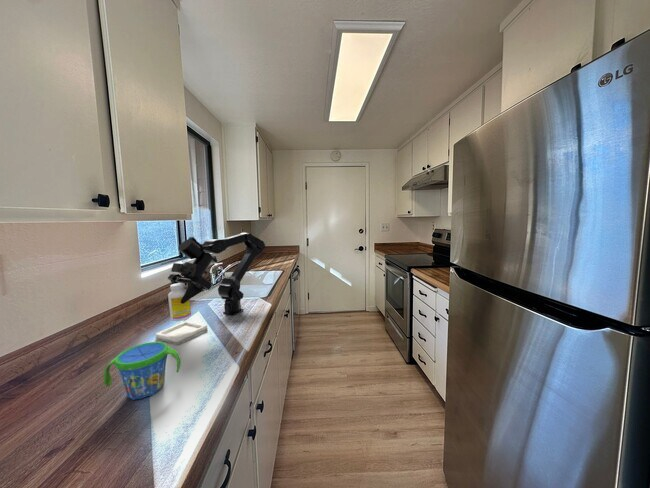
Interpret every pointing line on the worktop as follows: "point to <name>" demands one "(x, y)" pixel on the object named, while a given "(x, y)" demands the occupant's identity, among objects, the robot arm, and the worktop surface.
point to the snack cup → (142, 368)
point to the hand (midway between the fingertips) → (175, 302)
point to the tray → (181, 332)
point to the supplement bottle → (178, 303)
